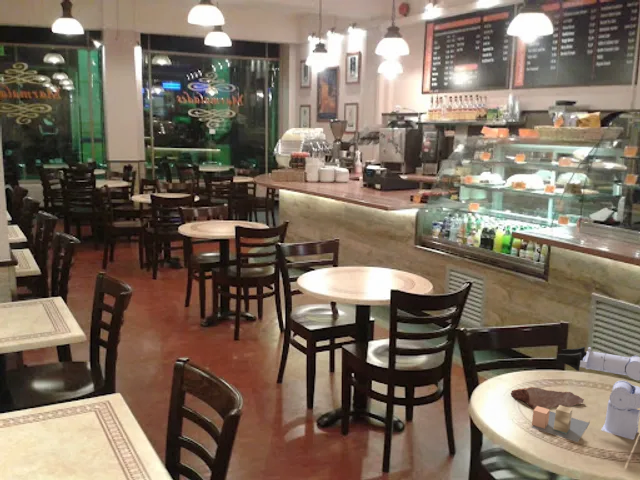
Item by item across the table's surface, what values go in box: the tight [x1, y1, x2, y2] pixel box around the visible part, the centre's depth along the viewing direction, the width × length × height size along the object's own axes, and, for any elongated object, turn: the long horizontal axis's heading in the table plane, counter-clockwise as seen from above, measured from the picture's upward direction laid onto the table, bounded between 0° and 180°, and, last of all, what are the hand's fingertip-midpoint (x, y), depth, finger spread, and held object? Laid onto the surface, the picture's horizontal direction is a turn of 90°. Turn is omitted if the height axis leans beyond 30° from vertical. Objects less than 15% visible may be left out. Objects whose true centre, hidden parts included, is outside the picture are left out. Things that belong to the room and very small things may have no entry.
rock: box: [510, 386, 585, 410], centre depth 218 cm, size 10×24×10 cm
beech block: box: [554, 405, 573, 434], centre depth 196 cm, size 4×4×7 cm
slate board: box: [531, 410, 590, 443], centre depth 200 cm, size 14×16×1 cm
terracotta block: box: [531, 406, 551, 429], centre depth 199 cm, size 4×4×5 cm
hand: (559, 354), depth 205 cm, fingers open, 7 cm apart
